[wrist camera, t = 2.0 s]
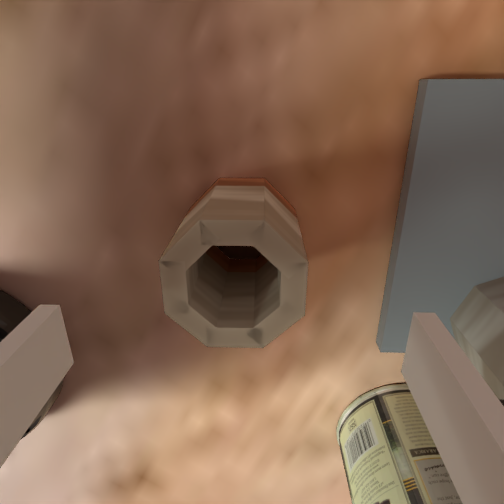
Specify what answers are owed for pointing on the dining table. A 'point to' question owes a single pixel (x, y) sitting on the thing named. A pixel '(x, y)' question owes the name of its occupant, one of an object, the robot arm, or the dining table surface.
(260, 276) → the cream sleeve
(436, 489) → the coffee can
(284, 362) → the dining table surface
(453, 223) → the pin board
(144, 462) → the dining table surface
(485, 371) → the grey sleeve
